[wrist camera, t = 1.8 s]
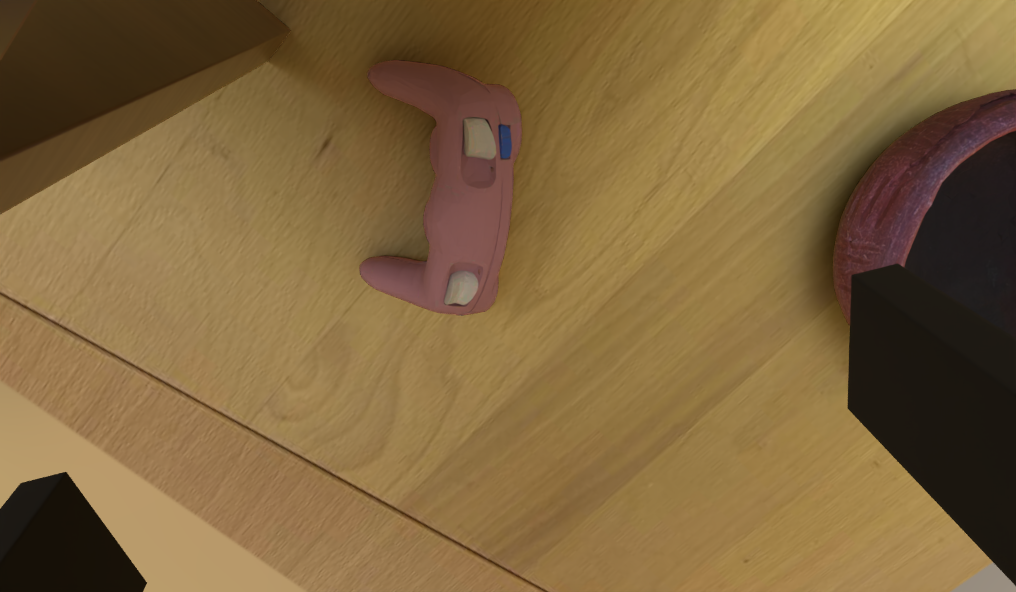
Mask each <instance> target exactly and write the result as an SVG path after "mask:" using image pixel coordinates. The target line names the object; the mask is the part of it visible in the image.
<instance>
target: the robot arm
mask: <svg viewBox="0 0 1016 592" xmlns="http://www.w3.org/2000/svg"><path fill="white" fill-rule="evenodd" d="M848 409H849V410H850V411H851V412H852V413H853V415H854V416H855V417H856V418H857V419H858V420H859V421H860V422H861V423H862V424H863V425H864V426H865V427H866V428H867V429H868V430H869V431H870V432H871V434H872V435H873V436H874V437H875V438H876V439H877V440H878V441H879V442H880V443H881V444H882V445H883V446H884V447H885V448H886V449H887V450H888V451H889V453H890V454H891V455H892V456H893V457H894V458H895V459H896V460H897V461H898V462H899V463H900V464H901V465H902V466H903V467H904V468H905V469H906V470H907V472H908V473H909V474H910V475H911V476H912V477H913V478H914V479H915V480H916V481H917V482H918V483H919V484H920V485H921V486H922V487H923V488H924V490H925V491H926V492H927V493H928V494H929V495H930V496H931V497H932V498H933V499H934V500H935V501H936V502H937V503H938V504H939V505H940V506H941V507H942V509H943V510H944V511H945V512H946V513H947V514H948V515H949V516H950V517H951V518H952V519H953V520H954V521H955V522H956V523H957V524H958V525H959V526H960V528H961V529H962V530H963V531H964V532H965V533H966V534H967V535H968V536H969V537H970V538H971V539H972V540H973V541H974V542H975V543H976V544H977V545H978V547H979V548H980V549H981V550H982V551H983V552H984V553H985V554H986V555H987V556H988V557H989V558H990V559H991V560H992V561H993V562H994V563H995V564H996V565H997V567H998V568H999V569H1000V570H1002V572H1003V573H1004V574H1005V575H1006V576H1007V577H1008V578H1009V579H1010V580H1011V581H1012V582H1013V583H1014V584H1015V586H1016V338H1015V337H1013V336H1012V335H1010V334H1009V333H1007V332H1005V331H1004V330H1002V329H1001V328H999V327H998V326H996V325H994V324H993V323H991V322H990V321H988V320H986V319H985V318H983V317H982V316H980V315H979V314H977V313H975V312H974V311H972V310H971V309H969V308H968V307H966V306H964V305H963V304H961V303H960V302H958V301H956V300H955V299H953V298H952V297H950V296H949V295H947V294H945V293H944V292H942V291H941V290H939V289H937V288H936V287H934V286H933V285H931V284H930V283H928V282H926V281H925V280H923V279H922V278H920V277H918V276H917V275H915V274H914V273H912V272H911V271H909V270H907V269H906V268H904V267H903V266H901V265H899V264H898V263H897V264H893V265H889V266H885V267H881V268H877V269H873V270H869V271H865V272H861V273H857V274H853V275H851V308H850V343H849V378H848ZM146 584H147V582H146V581H145V579H144V578H143V577H142V575H141V574H140V573H139V571H138V570H137V568H136V567H135V566H134V564H133V563H132V562H131V560H130V559H129V557H128V556H127V555H126V553H125V552H124V551H123V549H122V548H121V547H120V545H119V544H118V542H117V541H116V540H115V538H114V537H113V535H112V534H111V533H110V531H109V530H108V529H107V527H106V526H105V524H104V523H103V522H102V520H101V519H100V518H99V516H98V515H97V514H96V512H95V511H94V509H93V508H92V507H91V505H90V504H89V503H88V501H87V500H86V499H85V497H84V496H83V494H82V493H81V492H80V490H79V489H78V487H77V486H76V485H75V483H74V482H73V481H72V479H71V478H70V477H69V475H68V474H67V472H63V473H59V474H55V475H52V476H48V477H43V478H39V479H35V480H32V481H27V482H24V483H21V484H20V485H19V486H18V487H17V489H16V490H15V491H14V492H13V494H12V495H11V496H10V498H9V499H8V500H7V501H6V502H5V504H4V505H3V506H2V507H1V509H0V592H143V590H144V588H145V586H146Z"/></svg>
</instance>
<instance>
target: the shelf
mask: <svg viewBox="0 0 1016 592" xmlns="http://www.w3.org/2000/svg"><path fill="white" fill-rule="evenodd" d="M37 1H38V0H0V61H1V59H2V58H3V56H4V54H5V53H6V51H7V50H8V48H9V46H10V45H11V43H12V41H13V40H14V38H15V37H16V35H17V33H18V32H19V30H20V28H21V27H22V25H23V23H24V22H25V20H26V19H27V17H28V15H29V14H30V12H31V10H32V9H33V7H34V6H35V4H36V2H37Z"/></svg>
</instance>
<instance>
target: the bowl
mask: <svg viewBox="0 0 1016 592" xmlns="http://www.w3.org/2000/svg"><path fill="white" fill-rule="evenodd" d="M897 263H898V264H899V265H901V266H903V267H904V268H906V269H907V270H909V271H911V272H912V273H914V274H915V275H917V276H918V277H920V278H922V279H923V280H925V281H926V282H928V283H930V284H931V285H933V286H934V287H936V288H937V289H939V290H941V291H942V292H944V293H945V294H947V295H949V296H950V297H952V298H953V299H955V300H956V301H958V302H960V303H961V304H963V305H964V306H966V307H968V308H969V309H971V310H972V311H974V312H975V313H977V314H979V315H980V316H982V317H983V318H985V319H986V320H988V321H990V322H991V323H993V324H994V325H996V326H998V327H999V328H1001V329H1002V330H1004V331H1005V332H1007V333H1009V334H1010V335H1012V336H1013V337H1015V338H1016V89H1014V90H1006V91H1001V92H995V93H990V94H987V95H985V96H981V97H978V98H975V99H971V100H968V101H965V102H961V103H958V104H956V105H953V106H951V107H948V108H946V109H945V110H943V111H940V112H938V113H936V114H934V115H932V116H930V117H929V118H927V119H925V120H924V121H922V122H921V123H919V124H917V125H916V126H914V127H913V128H911V129H910V130H908V131H907V132H906V133H904V134H903V135H902V136H900V137H899V138H898V139H896V140H895V141H894V142H893V143H892V144H891V145H890V146H889V147H888V148H886V149H885V150H884V151H883V152H882V153H881V155H880V156H879V157H878V158H877V159H876V160H875V161H874V163H873V164H872V165H871V166H870V167H869V168H868V170H867V171H866V173H865V174H864V176H863V177H862V178H861V180H860V181H859V183H858V184H857V186H856V188H855V189H854V191H853V193H852V194H851V196H850V198H849V200H848V202H847V204H846V206H845V209H844V211H843V214H842V216H841V219H840V222H839V227H838V231H837V236H836V241H835V247H834V253H833V280H834V290H835V293H836V296H837V299H838V302H839V305H840V307H841V310H842V312H843V314H844V317H845V319H846V321H847V323H848V324H849V325H850V308H851V275H853V274H857V273H861V272H865V271H869V270H873V269H877V268H881V267H885V266H889V265H893V264H897Z"/></svg>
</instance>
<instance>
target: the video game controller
mask: <svg viewBox="0 0 1016 592" xmlns="http://www.w3.org/2000/svg"><path fill="white" fill-rule="evenodd" d="M367 76H368V79H369V81H370V82H371V84H372V85H373V86H374V87H375V88H376V89H378V90H379V91H380V92H381V93H383V94H384V95H387V96H389V97H392V98H395V99H397V100H400V101H402V102H405V103H407V104H410V105H413V106H415V107H417V108H419V109H420V110H422V111H424V112H425V113H427V114H429V115H430V116H432V117H433V118H434V119H435V120H436V123H437V125H436V126H435V128H434V129H433V131H432V134H431V138H430V148H429V151H430V161H431V165H432V168H433V171H434V172H435V174H436V177H435V180H434V183H433V187H432V190H431V194H430V198H429V200H428V202H427V204H426V206H425V211H424V217H423V225H424V230H425V235H426V238H427V240H428V242H429V244H430V247H429V255H428V259H427V261H418V260H412V259H407V258H402V257H393V256H379V257H370V258H368V259H366V260H364V261H363V262H362V263H361V264H360V268H359V269H360V275H361V277H362V278H363V279H364V280H365V281H366V282H367V283H368V284H369V285H370V286H372V287H373V288H375V289H376V290H379V291H381V292H384V293H386V294H388V295H391V296H394V297H396V298H399V299H401V300H404V301H407V302H409V303H412V304H414V305H417V306H420V307H422V308H425V309H427V310H431V311H434V312H437V313H443V314H455V315H461V316H463V315H468V314H474V313H480V312H485V311H487V310H488V309H489V308H490V307H491V306H492V304H493V303H494V301H495V299H496V296H497V292H498V276H499V271H500V267H501V264H502V261H503V257H504V253H505V248H506V243H507V238H508V233H509V227H510V218H511V209H512V199H513V182H514V177H513V164H514V162H515V160H516V158H517V156H518V154H519V150H520V146H521V139H522V122H521V114H520V110H519V107H518V104H517V101H516V99H515V97H514V95H513V94H512V93H511V92H510V91H509V89H507V88H506V87H504V86H502V85H498V84H484V83H482V82H481V81H479V80H477V79H476V78H474V77H472V76H469V75H467V74H464V73H462V72H459V71H457V70H454V69H450V68H447V67H444V66H440V65H434V64H428V63H420V62H411V61H403V60H391V61H384V62H381V63H377V64H375V65H374V66H372V67H370V69H369V70H368V72H367Z"/></svg>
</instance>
